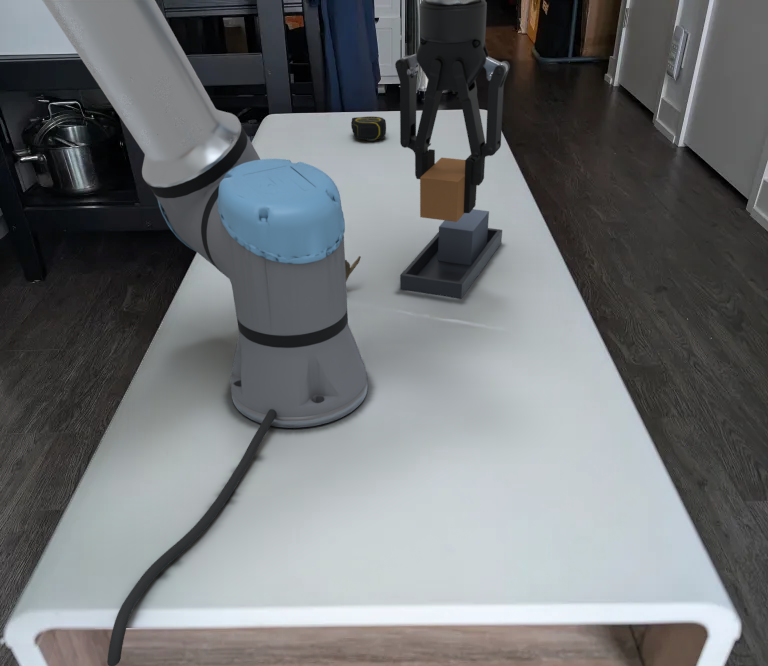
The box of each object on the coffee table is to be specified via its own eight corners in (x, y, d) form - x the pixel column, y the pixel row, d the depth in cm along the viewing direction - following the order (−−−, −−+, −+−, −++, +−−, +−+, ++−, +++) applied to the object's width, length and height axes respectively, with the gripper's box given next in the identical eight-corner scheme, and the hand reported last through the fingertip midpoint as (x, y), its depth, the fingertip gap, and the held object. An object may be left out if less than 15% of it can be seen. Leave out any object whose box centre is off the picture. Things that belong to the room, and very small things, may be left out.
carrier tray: (461, 302, 106) (461, 284, 104) (400, 292, 108) (400, 274, 107) (501, 246, 120) (502, 229, 118) (446, 238, 122) (446, 222, 121)
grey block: (471, 265, 113) (472, 231, 110) (437, 260, 115) (438, 226, 112) (486, 244, 119) (489, 211, 116) (455, 240, 120) (456, 206, 117)
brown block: (457, 222, 101) (458, 181, 98) (420, 217, 102) (420, 177, 99) (476, 199, 106) (477, 160, 103) (440, 195, 108) (441, 157, 105)
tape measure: (384, 133, 165) (384, 113, 162) (387, 142, 159) (387, 122, 157) (351, 134, 164) (350, 115, 162) (353, 144, 159) (352, 124, 157)
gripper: (541, -6, 89) (523, 204, 104) (391, -11, 94) (395, 189, 110) (523, 6, 84) (507, 225, 99) (365, 1, 89) (374, 209, 104)
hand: (448, 206), depth 104 cm, fingers closed on brown block, 5 cm apart
